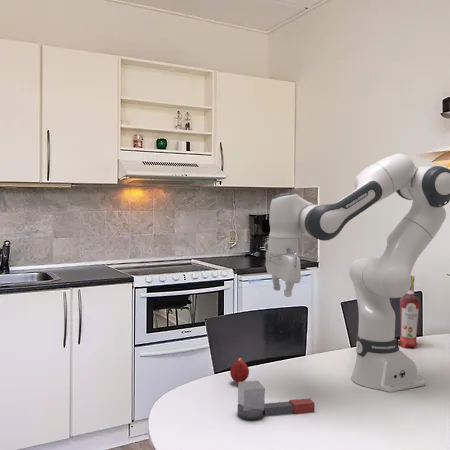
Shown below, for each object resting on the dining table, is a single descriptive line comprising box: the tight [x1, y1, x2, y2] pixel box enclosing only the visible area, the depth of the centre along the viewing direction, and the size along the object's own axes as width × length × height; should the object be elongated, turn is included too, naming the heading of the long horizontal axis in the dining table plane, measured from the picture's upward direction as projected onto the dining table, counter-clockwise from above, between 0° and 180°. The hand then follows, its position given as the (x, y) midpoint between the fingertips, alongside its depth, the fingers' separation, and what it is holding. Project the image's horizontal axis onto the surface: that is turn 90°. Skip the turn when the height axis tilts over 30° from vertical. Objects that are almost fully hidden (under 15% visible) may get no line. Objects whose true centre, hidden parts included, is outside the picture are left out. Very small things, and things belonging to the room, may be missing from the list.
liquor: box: [399, 275, 421, 349], centre depth 195 cm, size 7×7×28 cm
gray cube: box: [237, 380, 266, 411], centre depth 132 cm, size 6×6×6 cm
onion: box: [229, 357, 250, 384], centre depth 154 cm, size 6×6×8 cm
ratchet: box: [236, 398, 315, 422], centre depth 133 cm, size 21×7×6 cm, turn 104°
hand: (282, 293), depth 149 cm, fingers open, 8 cm apart
